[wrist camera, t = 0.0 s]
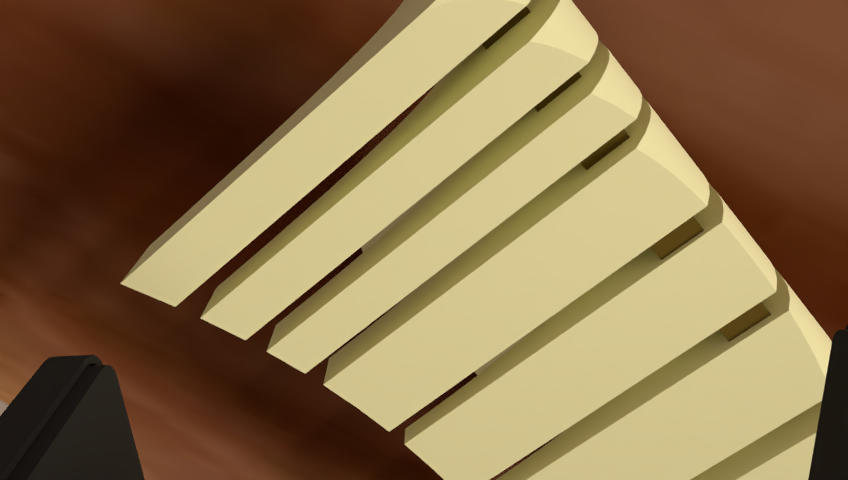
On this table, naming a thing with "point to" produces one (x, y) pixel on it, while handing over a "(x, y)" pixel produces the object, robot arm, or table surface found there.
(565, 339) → the slatted curved stool
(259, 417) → the table surface
